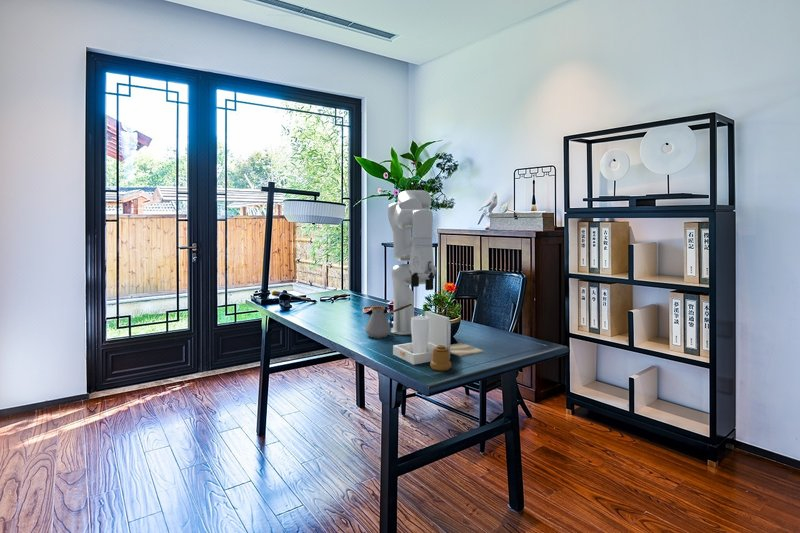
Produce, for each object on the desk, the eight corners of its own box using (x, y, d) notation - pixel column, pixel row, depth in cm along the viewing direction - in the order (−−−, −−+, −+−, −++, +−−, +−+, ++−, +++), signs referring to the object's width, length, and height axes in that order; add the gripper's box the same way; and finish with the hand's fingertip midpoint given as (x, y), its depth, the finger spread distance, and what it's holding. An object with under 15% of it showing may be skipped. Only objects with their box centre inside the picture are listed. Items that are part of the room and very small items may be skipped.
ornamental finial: (455, 368, 166) (439, 372, 162) (441, 363, 172) (425, 367, 168) (456, 346, 166) (439, 349, 161) (442, 342, 172) (426, 345, 167)
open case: (392, 354, 183) (392, 315, 182) (426, 348, 192) (427, 311, 190) (414, 365, 169) (414, 323, 168) (451, 359, 178) (451, 318, 176)
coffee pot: (363, 339, 207) (363, 305, 206) (367, 332, 218) (367, 300, 217) (412, 340, 205) (412, 306, 204) (413, 333, 217) (413, 301, 215)
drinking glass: (418, 360, 176) (418, 320, 175) (407, 355, 182) (407, 317, 180) (432, 357, 180) (432, 318, 179) (421, 352, 186) (421, 315, 184)
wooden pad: (438, 348, 193) (438, 346, 193) (462, 344, 199) (462, 342, 199) (459, 356, 181) (459, 355, 181) (484, 352, 187) (484, 350, 187)
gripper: (401, 242, 182) (401, 286, 184) (427, 244, 167) (426, 292, 169) (418, 241, 186) (417, 284, 188) (444, 243, 171) (443, 290, 173)
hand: (422, 288), depth 178 cm, fingers open, 9 cm apart
